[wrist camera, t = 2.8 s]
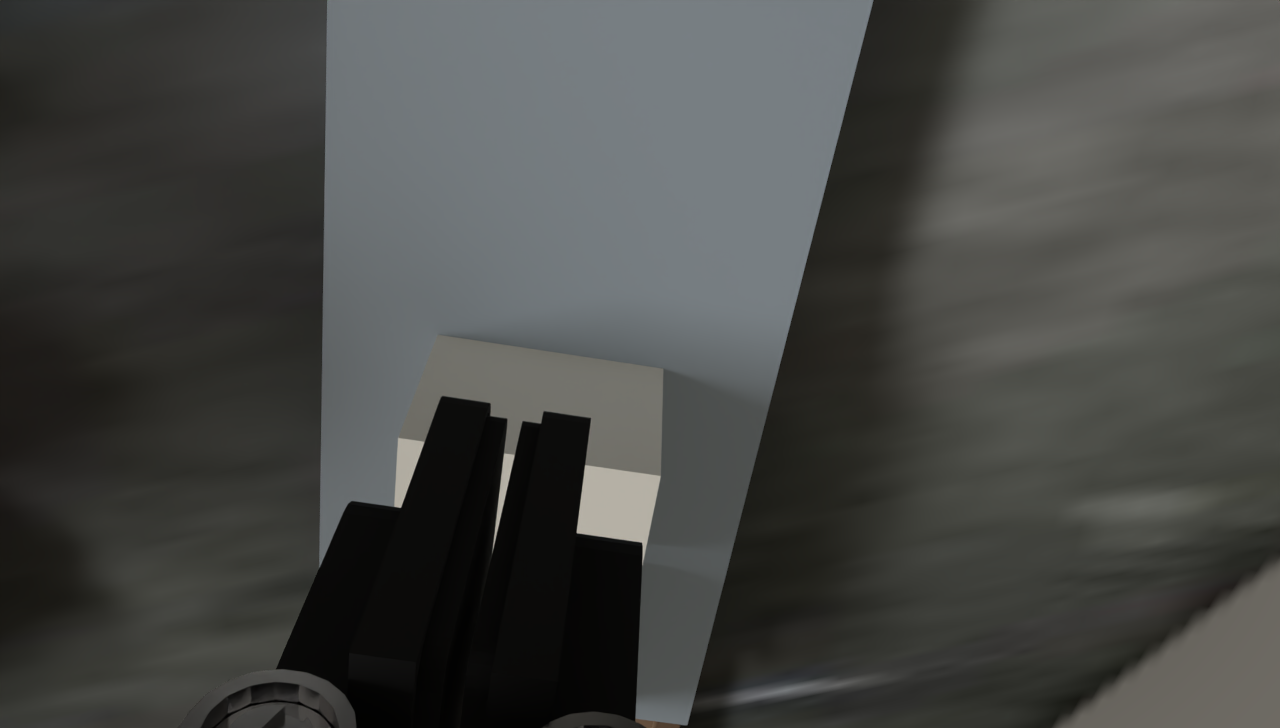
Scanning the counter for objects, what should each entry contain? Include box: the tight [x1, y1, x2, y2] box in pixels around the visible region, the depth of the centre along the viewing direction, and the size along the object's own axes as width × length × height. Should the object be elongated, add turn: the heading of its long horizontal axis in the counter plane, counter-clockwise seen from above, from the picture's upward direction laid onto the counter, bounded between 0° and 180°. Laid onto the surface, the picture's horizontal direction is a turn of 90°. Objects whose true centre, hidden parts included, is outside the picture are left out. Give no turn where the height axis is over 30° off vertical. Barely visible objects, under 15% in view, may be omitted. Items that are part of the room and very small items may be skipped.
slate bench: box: [319, 0, 873, 725], centre depth 26 cm, size 20×10×2 cm, turn 171°
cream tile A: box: [394, 335, 663, 565], centre depth 24 cm, size 5×5×4 cm
